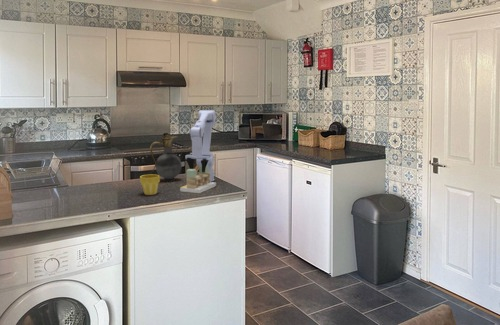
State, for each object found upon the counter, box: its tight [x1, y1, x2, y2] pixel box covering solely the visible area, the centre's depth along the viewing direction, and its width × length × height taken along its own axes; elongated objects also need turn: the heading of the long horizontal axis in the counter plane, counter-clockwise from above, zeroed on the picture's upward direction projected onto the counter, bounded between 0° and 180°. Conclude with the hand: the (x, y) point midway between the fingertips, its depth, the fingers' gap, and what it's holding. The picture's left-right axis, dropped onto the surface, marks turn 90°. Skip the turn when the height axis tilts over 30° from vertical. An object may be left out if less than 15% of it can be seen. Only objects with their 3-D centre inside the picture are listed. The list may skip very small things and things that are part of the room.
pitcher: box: [149, 132, 183, 182], centre depth 262 cm, size 11×19×30 cm, turn 118°
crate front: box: [186, 168, 197, 178], centre depth 235 cm, size 4×4×4 cm
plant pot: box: [139, 174, 161, 196], centre depth 230 cm, size 10×10×10 cm
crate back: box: [198, 165, 209, 173], centre depth 248 cm, size 4×4×4 cm
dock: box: [179, 181, 217, 194], centre depth 243 cm, size 20×12×2 cm, turn 157°
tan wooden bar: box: [185, 172, 210, 189], centre depth 242 cm, size 18×5×6 cm, turn 157°
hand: (197, 171), depth 244 cm, fingers open, 7 cm apart
